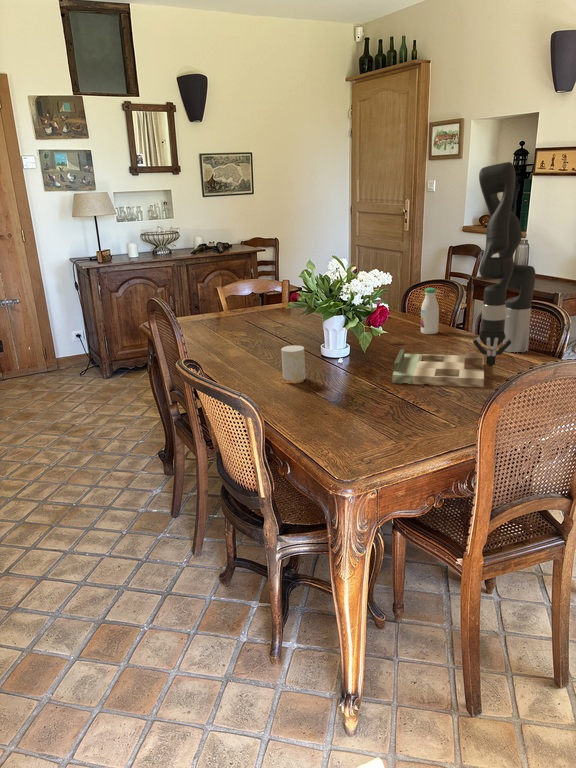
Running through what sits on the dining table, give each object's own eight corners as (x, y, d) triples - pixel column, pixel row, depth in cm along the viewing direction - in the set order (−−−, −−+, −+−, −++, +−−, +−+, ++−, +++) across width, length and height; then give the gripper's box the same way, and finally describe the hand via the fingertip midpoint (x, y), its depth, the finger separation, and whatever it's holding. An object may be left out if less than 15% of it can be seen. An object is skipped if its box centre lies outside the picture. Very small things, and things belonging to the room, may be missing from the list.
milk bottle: (440, 331, 263) (441, 287, 257) (434, 335, 257) (436, 290, 251) (424, 329, 267) (425, 286, 261) (418, 333, 261) (418, 289, 255)
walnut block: (482, 364, 205) (482, 353, 204) (482, 369, 200) (482, 358, 199) (464, 363, 207) (465, 352, 206) (464, 368, 202) (464, 357, 200)
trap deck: (483, 363, 215) (484, 348, 213) (483, 387, 192) (484, 370, 190) (401, 361, 224) (401, 346, 222) (392, 383, 201) (392, 366, 199)
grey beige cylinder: (289, 385, 204) (287, 353, 200) (279, 379, 211) (277, 348, 207) (309, 381, 208) (308, 348, 204) (299, 375, 215) (297, 344, 211)
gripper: (513, 314, 197) (510, 363, 203) (473, 314, 201) (470, 361, 207) (515, 319, 191) (511, 369, 196) (473, 319, 194) (470, 368, 200)
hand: (490, 365), depth 202 cm, fingers closed
